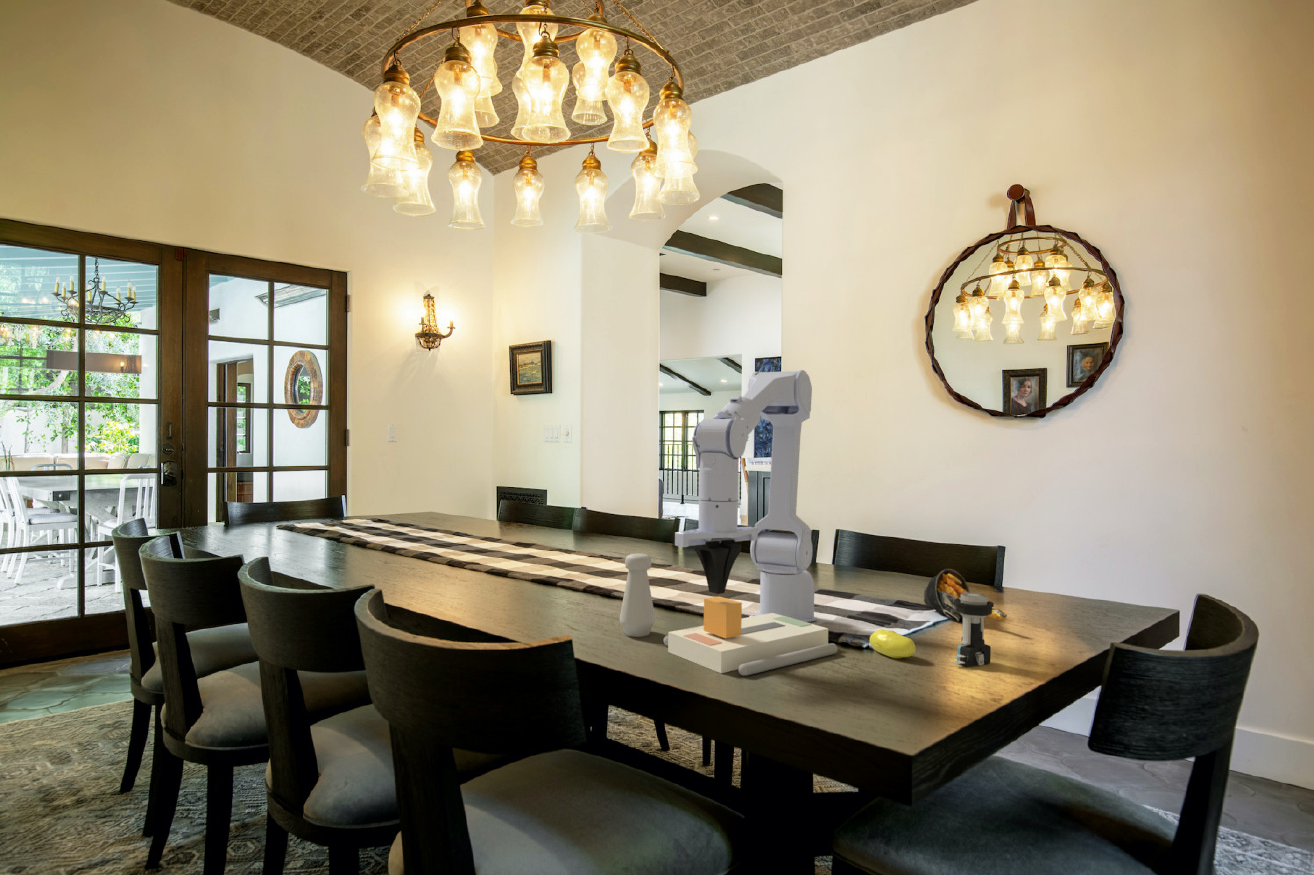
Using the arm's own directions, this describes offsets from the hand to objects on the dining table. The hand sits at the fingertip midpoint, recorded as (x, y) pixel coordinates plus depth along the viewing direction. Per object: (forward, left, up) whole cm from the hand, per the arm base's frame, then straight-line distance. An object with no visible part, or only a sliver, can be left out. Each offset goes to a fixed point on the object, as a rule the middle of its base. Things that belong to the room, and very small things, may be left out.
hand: (716, 592), depth 109 cm
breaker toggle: (-1, 0, -6) cm, 6 cm away
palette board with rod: (-7, 0, -10) cm, 12 cm away
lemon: (-23, +14, -10) cm, 28 cm away
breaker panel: (-7, 0, -10) cm, 12 cm away
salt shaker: (+2, -17, -10) cm, 20 cm away
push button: (-29, +23, -10) cm, 38 cm away
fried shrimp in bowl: (-52, +8, -10) cm, 53 cm away
